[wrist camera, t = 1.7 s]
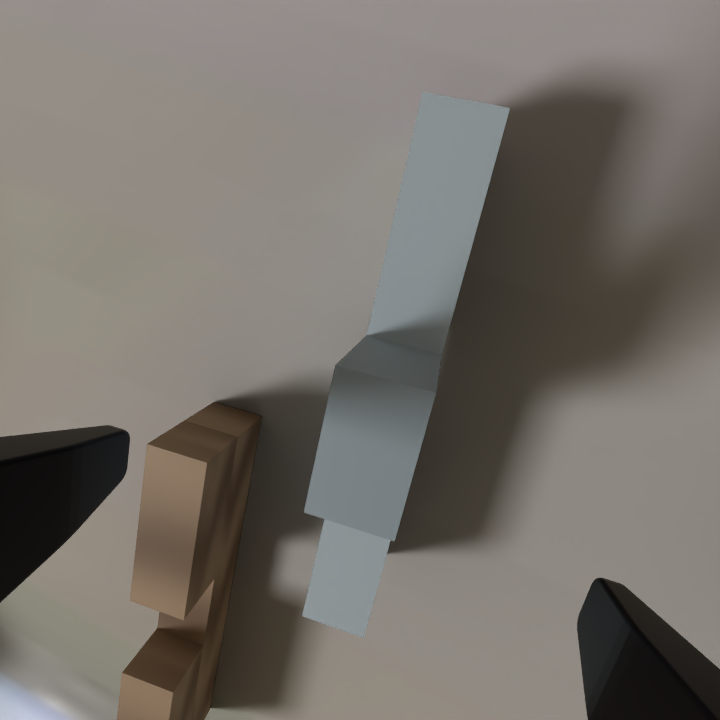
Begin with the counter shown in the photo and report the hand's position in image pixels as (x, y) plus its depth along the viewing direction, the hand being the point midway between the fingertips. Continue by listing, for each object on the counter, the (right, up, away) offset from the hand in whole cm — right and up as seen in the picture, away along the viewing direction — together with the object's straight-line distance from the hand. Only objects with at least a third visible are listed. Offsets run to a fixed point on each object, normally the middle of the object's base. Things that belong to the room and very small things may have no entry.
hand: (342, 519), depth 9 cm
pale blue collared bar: (+2, +3, +11) cm, 12 cm away
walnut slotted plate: (-7, -8, +16) cm, 19 cm away
